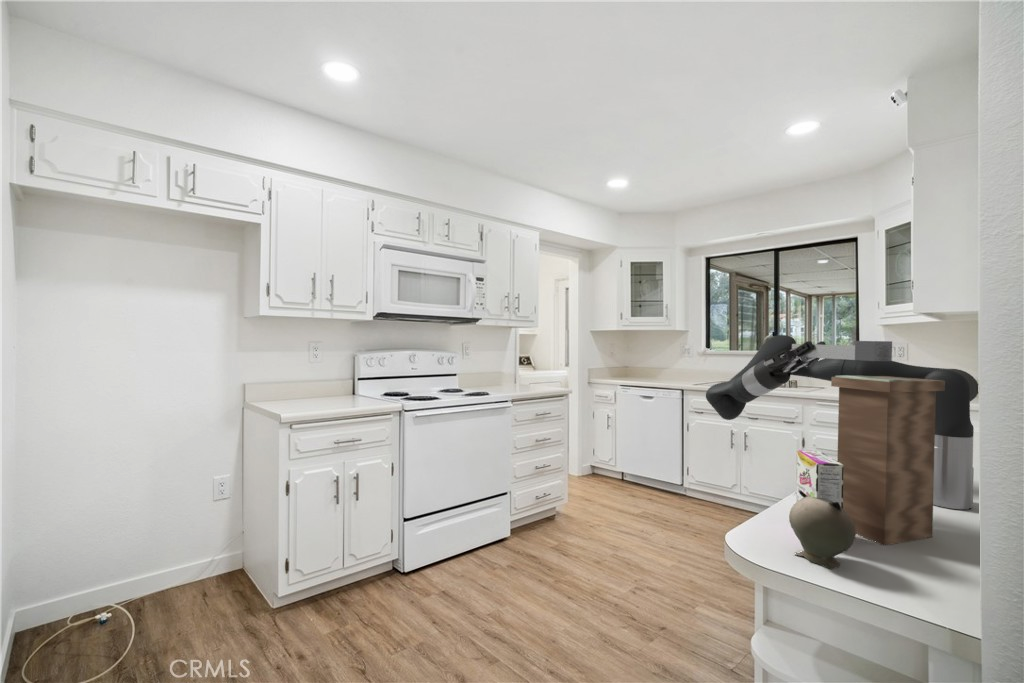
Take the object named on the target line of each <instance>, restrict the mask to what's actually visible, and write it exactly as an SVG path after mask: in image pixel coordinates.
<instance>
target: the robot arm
mask: <svg viewBox="0 0 1024 683" xmlns="http://www.w3.org/2000/svg"><path fill="white" fill-rule="evenodd" d="M792 344H797V342H796V340H795V338H793V337H792V336H790V335H784V334H781V335H780V334H779V335H778V334H777V335H774V336H771V337H769V338H768V339H767V340H766V341H764V343H763V344H762V345H761V346H760V348H759V350H757V352H756V353H755V354H754V356H753V357H752V358H751V359H750V361H749V362H748V363H747V364H746V366H745V367H743V368H742V369H741V370H740V371H739V372H737V373H736V374H735V375H734V376H733V377H732V378H730V379H729V381H724V382H723V381H722V382H718V383H715V384H713V385H712V386H710V387H709V388H708V389H707V390H706V392H705V399H706V401H707V402H708V403H709V404H710V405H711V407H712V408H713V409H714V410H715V411H716V413H717V414H718V415H719V417H721V418H722V419H723V420H727V421H731V420H735V419H736V418H738V417H739V416H740V415H741V414H742V412H743V411H744V409H745V407H746V405H747V403H751V402H752V401H754V400H756V399H757V398H759V397H761V396H763V395H766V394H768V393H770V392H772V391H774V390H776V389H777V388H779V387H781V386H782V385H784V384H786V383H788V382H789V381H790V379H791V376H796V377H797V376H798V377H806V378H812V379H817V380H823V381H829V382H831V377H835V376H848V375H861V376H889V377H902V378H915V379H928V380H941V381H945V391H936V406H935V448H934V489H933V506H937V507H942V508H946V509H952V510H953V509H955V510H970V509H969V508H971V507H972V506H973V505H974V475H975V474H974V473H975V472H974V471H975V470H974V469H975V468H974V466H973V464H974V430H975V429H974V425H973V423H972V421H971V401H973V400H974V399H975V398H976V397H977V396H978V395H979V392H978V385H979V383H978V380H976V378H975V377H974V376H973V375H971V374H970V373H969V372H967V371H964V370H962V369H959V368H958V369H957V368H943V367H942V368H940V367H939V368H938V367H929V366H921V365H920V366H919V365H911V364H906V363H902V362H899V361H896V360H895V361H894V360H892V361H863V360H847V359H828V358H810V357H800V356H804V355H805V354H807V353H809V352H811V351H812V350H814V346H813V344H814V343H813V342H812V341H809V340H808V341H805V342H804V343H801V344H802V345H801V346H799V347H797V348H793V349H792ZM816 344H818V345H827V344H826V342H825V341H821V340H820V341H819V342H817V343H816ZM972 504H973V505H972ZM971 509H972V508H971Z"/></svg>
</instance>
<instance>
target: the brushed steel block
mask: <svg viewBox="0 0 1024 683" xmlns="http://www.w3.org/2000/svg"><path fill="white" fill-rule="evenodd" d="M854 343H855V344H853V345H850V344H848V345H847V344H845V345H844V344H826V345H818V344H817V343H815V344H814V343H812V344H813V346H814V350H812V351H811V352H809V353H807V354H805V355H804V356H800V357H810V358H820V359H825V358H828V359H847V360H863V361H893V341H891V340H890V341H889V340H888V341H883V340H882V341H881V340H880V341H879V340H878V341H877V340H869V341H868V340H855V341H854ZM802 344H803V343H796V344H792V349H793V348H797V347H799V346H801V345H802Z"/></svg>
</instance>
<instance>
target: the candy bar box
mask: <svg viewBox="0 0 1024 683" xmlns="http://www.w3.org/2000/svg"><path fill="white" fill-rule="evenodd" d="M843 467H844V465H843V464H841V463H839V462H837V460H836V459H834V458H832V457H830V456H829V455H827V454H825V453H824V452H822V451H818V450H817V451H816V450H802V449H801V450H800V449H799V450H796V502H798V501H799V500H801V499H802V498H804V497H803V496H801V494H800V493H799V490H800V491H802V492H803V493H804V494H805V495H806V496H811V497H815V498H825V499H829V500H831V501H833V502H835V503H836V502H838V503H839V505H840V506H841V508H842V509H843Z"/></svg>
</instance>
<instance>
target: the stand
mask: <svg viewBox="0 0 1024 683" xmlns="http://www.w3.org/2000/svg"><path fill="white" fill-rule="evenodd" d="M830 382H831V383H830V384H831V386H830V387H837V388H838V418H837V419H838V424H837V425H838V426H837V427H838V428H837V460H836V461H837V462H839V463H841V464H843V465H844V467H843V510H844V512H845V513H846V514H847V515H848V516H849V517H850V518H851V520H852V521H853V522H854V524H855V530H856V534H858V535H857V536H859V535H860V536H859V537H861V536H863V537H862V538H864V537H865V538H864V539H867V538H868V539H867V540H869V539H871V540H870V541H872V540H873V541H872V542H874V541H876V542H875V543H877V542H878V543H877V544H879V543H880V545H882V544H883V545H882V546H889V545H888V544H890V545H894V543H895V544H900V543H899V542H901V543H906V542H905V541H907V542H912V541H917V540H916V539H918V540H922V539H921V538H924V539H928V538H927V537H930V538H933V524H934V521H933V520H934V505H933V489H934V448H935V406H936V391H945V381H941V380H928V379H915V378H902V377H889V376H861V375H848V376H835V377H831V381H830ZM911 540H912V541H911Z"/></svg>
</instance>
